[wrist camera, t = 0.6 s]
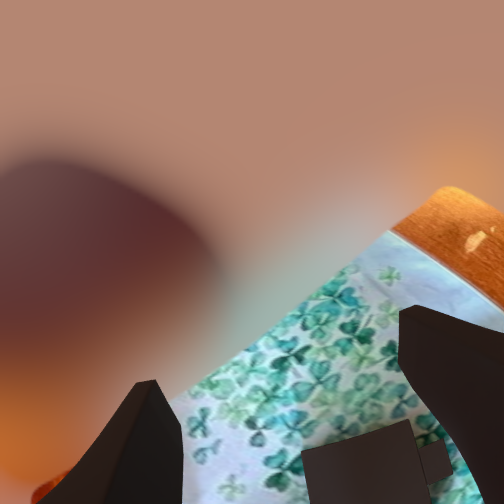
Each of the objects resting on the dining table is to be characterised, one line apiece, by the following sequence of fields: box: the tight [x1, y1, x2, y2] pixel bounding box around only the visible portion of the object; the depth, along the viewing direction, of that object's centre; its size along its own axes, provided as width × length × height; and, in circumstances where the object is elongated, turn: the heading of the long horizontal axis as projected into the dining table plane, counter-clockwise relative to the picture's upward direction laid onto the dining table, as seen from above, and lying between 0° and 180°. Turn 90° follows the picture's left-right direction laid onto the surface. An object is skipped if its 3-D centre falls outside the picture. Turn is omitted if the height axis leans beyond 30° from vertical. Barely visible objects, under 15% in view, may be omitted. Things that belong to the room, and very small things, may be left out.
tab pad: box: [301, 419, 453, 504], centre depth 17 cm, size 8×10×2 cm
